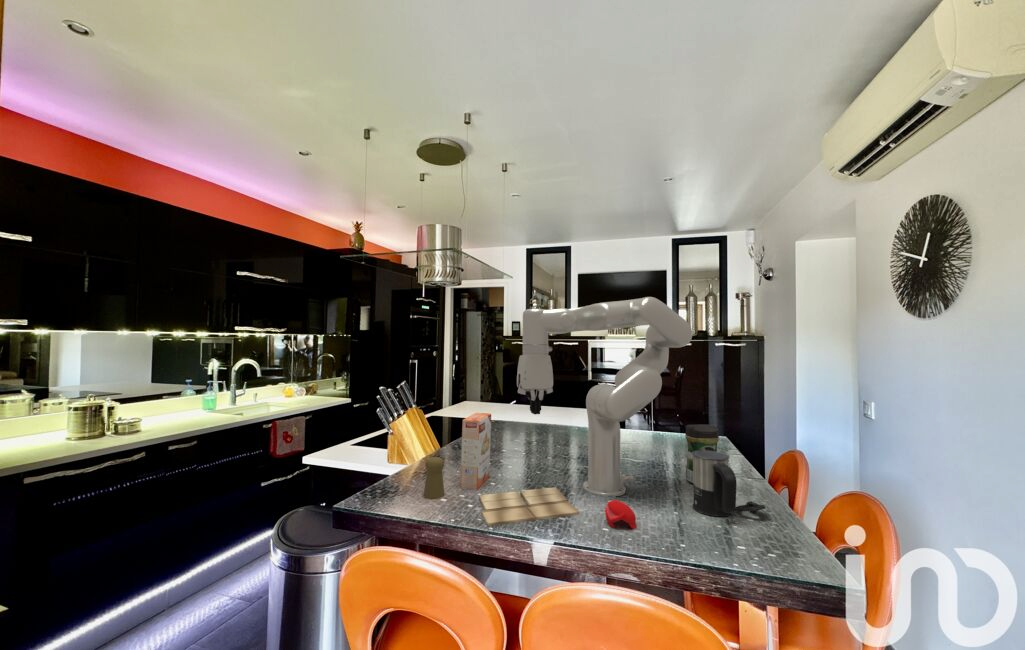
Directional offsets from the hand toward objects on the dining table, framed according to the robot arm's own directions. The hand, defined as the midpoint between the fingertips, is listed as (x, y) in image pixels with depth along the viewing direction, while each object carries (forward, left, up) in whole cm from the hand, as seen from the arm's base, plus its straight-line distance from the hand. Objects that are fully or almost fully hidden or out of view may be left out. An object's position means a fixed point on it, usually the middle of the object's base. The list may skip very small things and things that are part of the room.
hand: (535, 413), depth 117 cm
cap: (-13, +24, -24) cm, 37 cm away
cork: (+28, -6, -24) cm, 37 cm away
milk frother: (-46, +25, -24) cm, 57 cm away
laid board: (+6, +13, -24) cm, 28 cm away
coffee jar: (-56, +5, -24) cm, 61 cm away
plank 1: (+11, +5, -23) cm, 26 cm away
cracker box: (+14, -14, -24) cm, 31 cm away
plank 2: (-1, +5, -23) cm, 24 cm away
